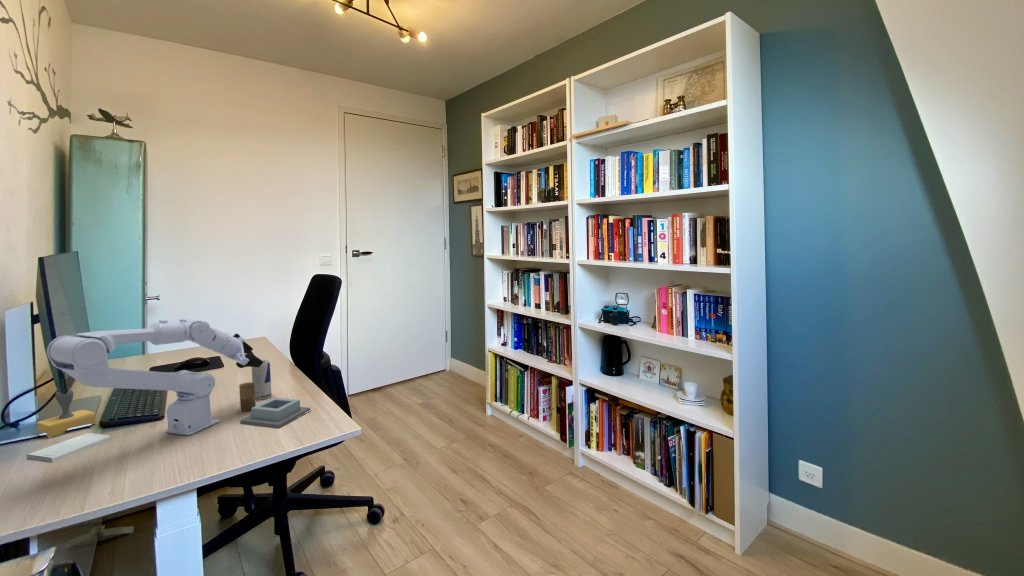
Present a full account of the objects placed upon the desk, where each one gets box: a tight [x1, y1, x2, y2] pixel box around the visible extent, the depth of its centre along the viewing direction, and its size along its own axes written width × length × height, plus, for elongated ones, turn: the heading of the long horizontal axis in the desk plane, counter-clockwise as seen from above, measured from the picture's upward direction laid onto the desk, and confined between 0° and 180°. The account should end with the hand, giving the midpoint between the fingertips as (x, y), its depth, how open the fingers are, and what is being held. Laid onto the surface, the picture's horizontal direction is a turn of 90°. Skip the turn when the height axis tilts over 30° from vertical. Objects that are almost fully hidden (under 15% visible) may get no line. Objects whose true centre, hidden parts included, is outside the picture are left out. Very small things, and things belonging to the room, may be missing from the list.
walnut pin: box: [238, 381, 257, 413], centre depth 135 cm, size 4×4×8 cm
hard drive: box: [26, 432, 112, 463], centre depth 109 cm, size 2×8×12 cm
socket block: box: [239, 397, 311, 429], centre depth 129 cm, size 13×13×4 cm
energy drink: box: [250, 359, 272, 401], centre depth 145 cm, size 5×5×12 cm
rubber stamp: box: [36, 387, 97, 438], centre depth 119 cm, size 10×6×12 cm, turn 159°
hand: (255, 357), depth 140 cm, fingers open, 7 cm apart
